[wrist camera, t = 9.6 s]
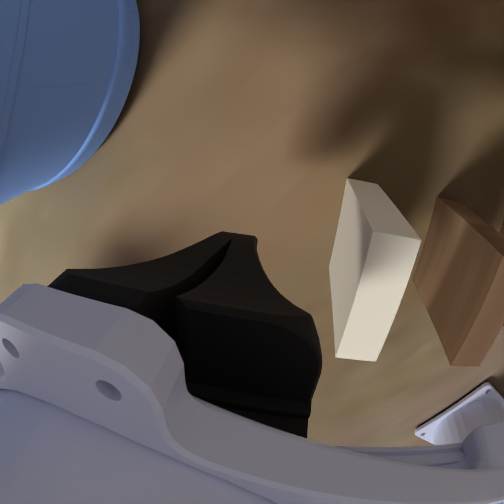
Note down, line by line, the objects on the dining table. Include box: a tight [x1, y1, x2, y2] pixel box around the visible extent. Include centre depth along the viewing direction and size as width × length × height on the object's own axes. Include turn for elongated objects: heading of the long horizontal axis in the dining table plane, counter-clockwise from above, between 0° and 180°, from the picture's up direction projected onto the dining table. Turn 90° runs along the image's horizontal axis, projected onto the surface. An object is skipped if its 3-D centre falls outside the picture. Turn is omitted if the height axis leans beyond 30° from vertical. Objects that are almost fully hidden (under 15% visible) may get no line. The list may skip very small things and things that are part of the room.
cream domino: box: [329, 178, 421, 361], centre depth 13 cm, size 2×5×7 cm, turn 174°
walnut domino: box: [413, 197, 504, 366], centre depth 13 cm, size 2×5×7 cm, turn 175°
